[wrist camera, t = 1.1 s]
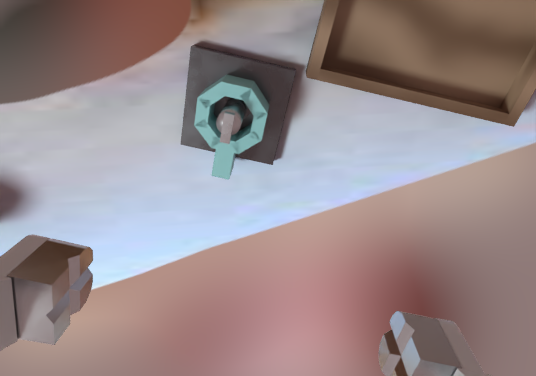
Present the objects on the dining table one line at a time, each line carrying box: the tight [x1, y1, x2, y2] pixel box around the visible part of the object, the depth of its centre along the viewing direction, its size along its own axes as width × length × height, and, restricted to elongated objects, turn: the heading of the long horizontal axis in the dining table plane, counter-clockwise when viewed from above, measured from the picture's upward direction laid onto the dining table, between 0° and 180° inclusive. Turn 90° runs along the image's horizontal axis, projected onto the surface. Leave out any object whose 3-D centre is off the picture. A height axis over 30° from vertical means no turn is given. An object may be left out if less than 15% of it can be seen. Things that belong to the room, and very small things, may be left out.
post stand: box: [181, 45, 296, 165], centre depth 35 cm, size 10×10×6 cm
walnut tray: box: [306, 0, 536, 127], centre depth 31 cm, size 14×20×2 cm
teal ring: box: [194, 75, 269, 179], centre depth 36 cm, size 10×6×3 cm
